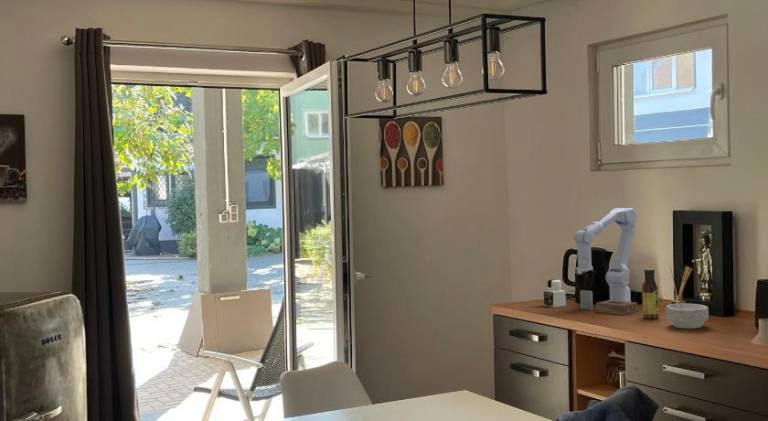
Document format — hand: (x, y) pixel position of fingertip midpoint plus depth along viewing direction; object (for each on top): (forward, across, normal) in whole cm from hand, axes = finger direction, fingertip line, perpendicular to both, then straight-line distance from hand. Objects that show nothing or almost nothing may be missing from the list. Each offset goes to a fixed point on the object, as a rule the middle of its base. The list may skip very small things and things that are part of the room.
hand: (585, 288), depth 366 cm
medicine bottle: (+10, -6, -17) cm, 21 cm away
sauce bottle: (+10, +10, +31) cm, 34 cm away
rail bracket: (+10, -2, -1) cm, 10 cm away
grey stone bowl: (+10, +25, +49) cm, 56 cm away
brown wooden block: (+10, +1, +14) cm, 17 cm away
